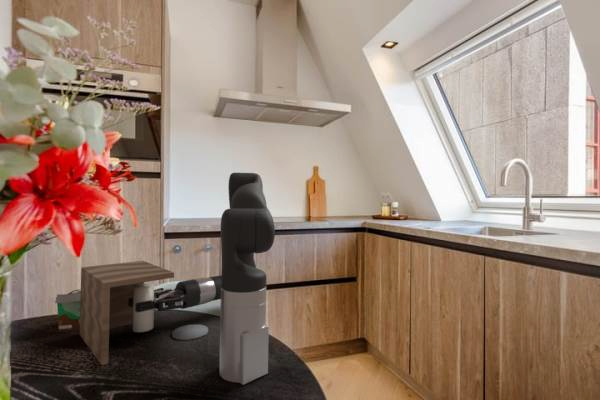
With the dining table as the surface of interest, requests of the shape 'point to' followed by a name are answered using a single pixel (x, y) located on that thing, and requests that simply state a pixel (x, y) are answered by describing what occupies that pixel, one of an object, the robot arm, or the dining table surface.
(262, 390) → the dining table surface
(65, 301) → the food container
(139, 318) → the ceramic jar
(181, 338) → the grey coaster
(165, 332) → the dining table surface
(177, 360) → the dining table surface
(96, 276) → the walnut cubby
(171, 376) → the dining table surface
